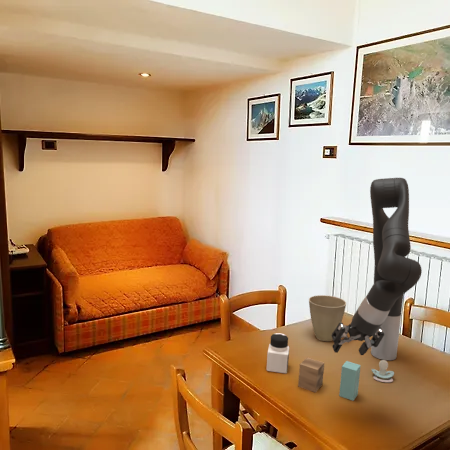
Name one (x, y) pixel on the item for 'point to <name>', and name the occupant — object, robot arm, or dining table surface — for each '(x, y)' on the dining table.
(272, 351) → the medicine bottle
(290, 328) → the dining table surface
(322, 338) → the plant pot
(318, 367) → the tower upper slab
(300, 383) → the tower base slab
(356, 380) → the pillar
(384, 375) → the pacifier
